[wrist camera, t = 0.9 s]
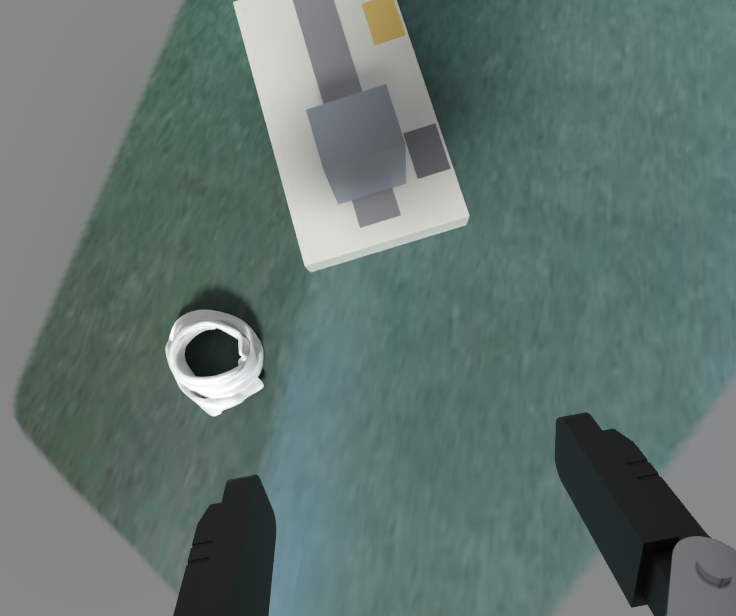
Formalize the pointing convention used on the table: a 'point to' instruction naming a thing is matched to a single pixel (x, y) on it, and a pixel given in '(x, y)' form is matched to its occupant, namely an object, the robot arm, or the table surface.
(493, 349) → the table surface
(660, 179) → the table surface
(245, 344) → the white folded ring
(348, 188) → the switch tab
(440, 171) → the switch housing
